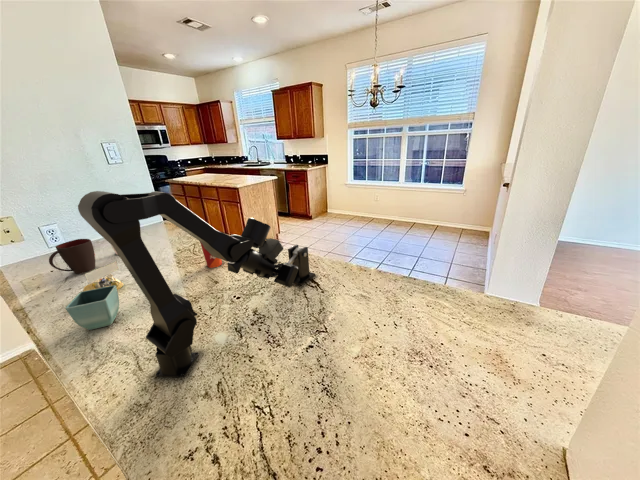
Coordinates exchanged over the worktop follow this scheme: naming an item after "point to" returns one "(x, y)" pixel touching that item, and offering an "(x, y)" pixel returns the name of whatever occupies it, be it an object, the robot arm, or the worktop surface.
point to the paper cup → (211, 258)
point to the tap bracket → (301, 265)
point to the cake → (105, 281)
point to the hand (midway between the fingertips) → (284, 276)
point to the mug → (76, 255)
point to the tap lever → (294, 256)
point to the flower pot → (95, 307)
